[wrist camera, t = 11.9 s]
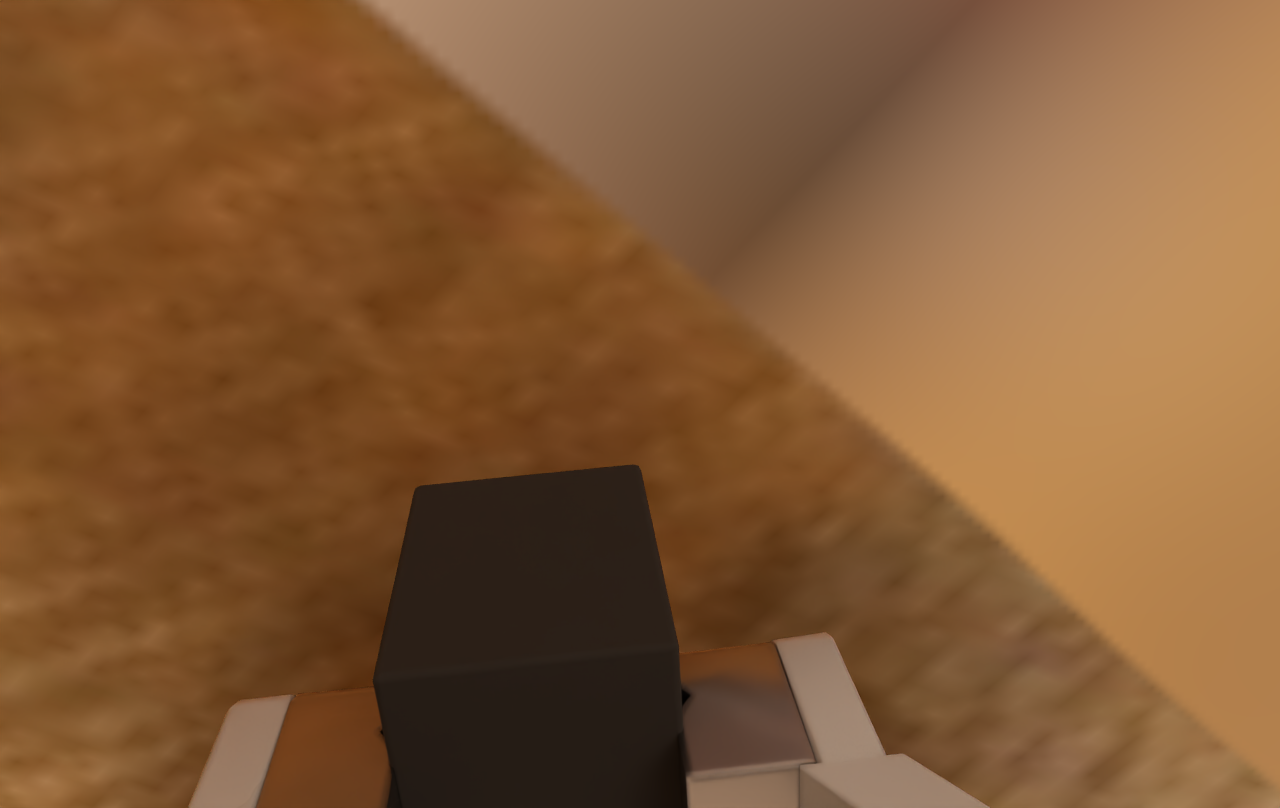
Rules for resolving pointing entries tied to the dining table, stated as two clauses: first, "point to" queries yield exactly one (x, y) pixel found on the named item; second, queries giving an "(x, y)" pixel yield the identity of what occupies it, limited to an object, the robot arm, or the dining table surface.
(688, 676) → the robot arm
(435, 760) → the rubber collar
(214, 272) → the dining table surface
